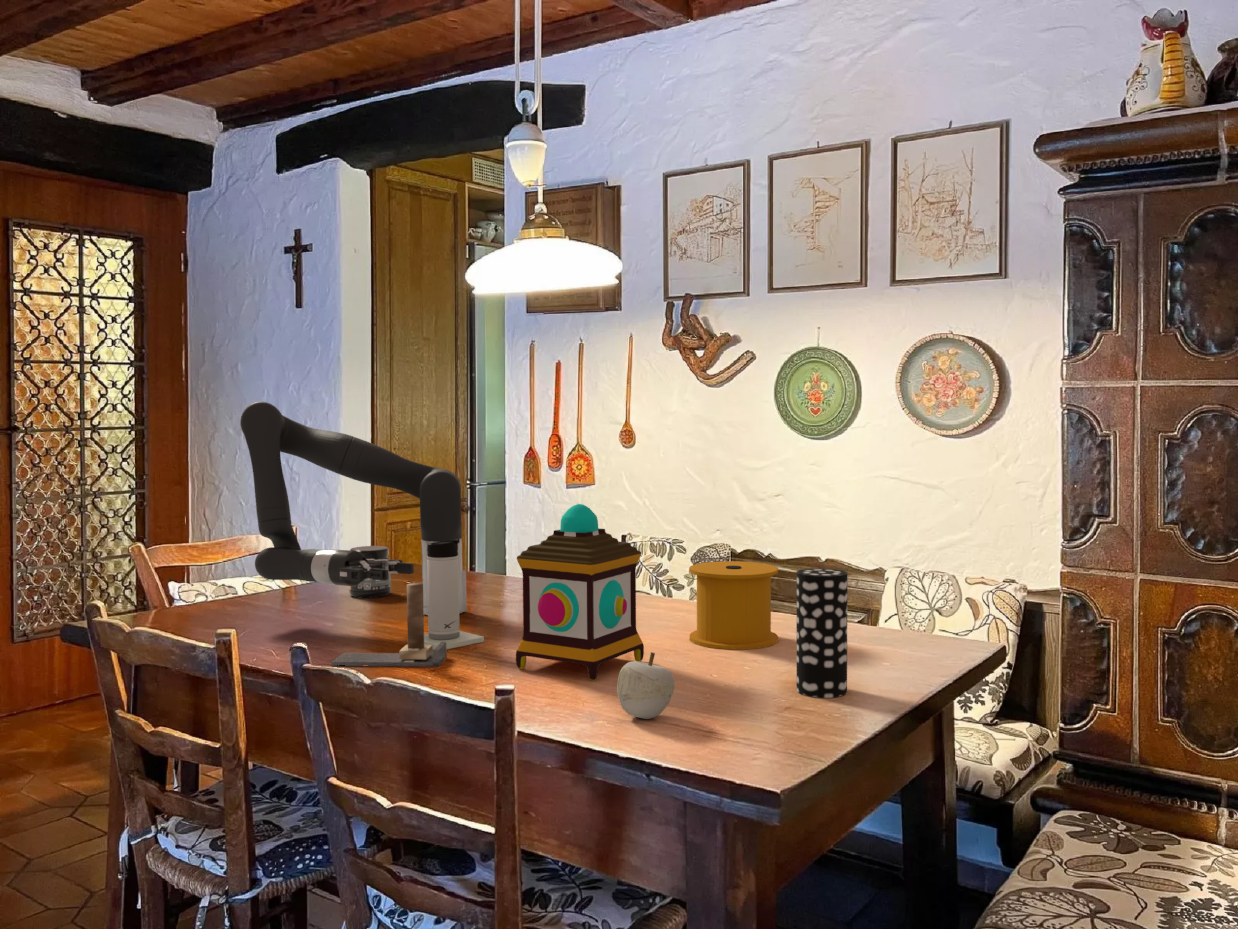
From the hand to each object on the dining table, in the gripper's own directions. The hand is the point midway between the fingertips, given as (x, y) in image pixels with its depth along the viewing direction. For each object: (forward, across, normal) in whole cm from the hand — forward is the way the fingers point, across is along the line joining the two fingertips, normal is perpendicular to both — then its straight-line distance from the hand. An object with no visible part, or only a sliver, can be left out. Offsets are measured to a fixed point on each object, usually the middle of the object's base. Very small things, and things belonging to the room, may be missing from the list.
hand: (400, 571), depth 218 cm
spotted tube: (+90, -6, +14) cm, 91 cm away
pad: (+11, 0, +14) cm, 18 cm away
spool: (+64, +25, +14) cm, 70 cm away
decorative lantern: (+45, -6, +14) cm, 48 cm away
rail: (+11, -18, +14) cm, 25 cm away
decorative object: (+69, -31, +14) cm, 77 cm away
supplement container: (-37, +37, +14) cm, 54 cm away
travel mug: (+11, 0, +13) cm, 17 cm away
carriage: (+15, -16, +13) cm, 26 cm away
